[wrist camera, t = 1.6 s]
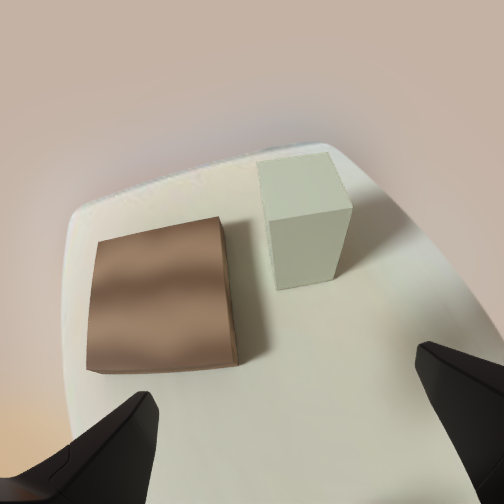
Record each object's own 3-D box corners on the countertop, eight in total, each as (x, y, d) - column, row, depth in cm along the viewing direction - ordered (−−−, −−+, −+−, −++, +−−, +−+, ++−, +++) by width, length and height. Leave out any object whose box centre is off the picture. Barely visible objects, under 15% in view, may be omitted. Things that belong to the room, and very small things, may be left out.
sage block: (332, 279, 24) (353, 207, 16) (276, 290, 25) (268, 221, 16) (318, 232, 27) (328, 152, 18) (267, 241, 27) (256, 162, 19)
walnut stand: (238, 366, 22) (233, 361, 19) (102, 374, 22) (86, 369, 20) (224, 231, 28) (218, 216, 26) (109, 254, 29) (98, 242, 27)
